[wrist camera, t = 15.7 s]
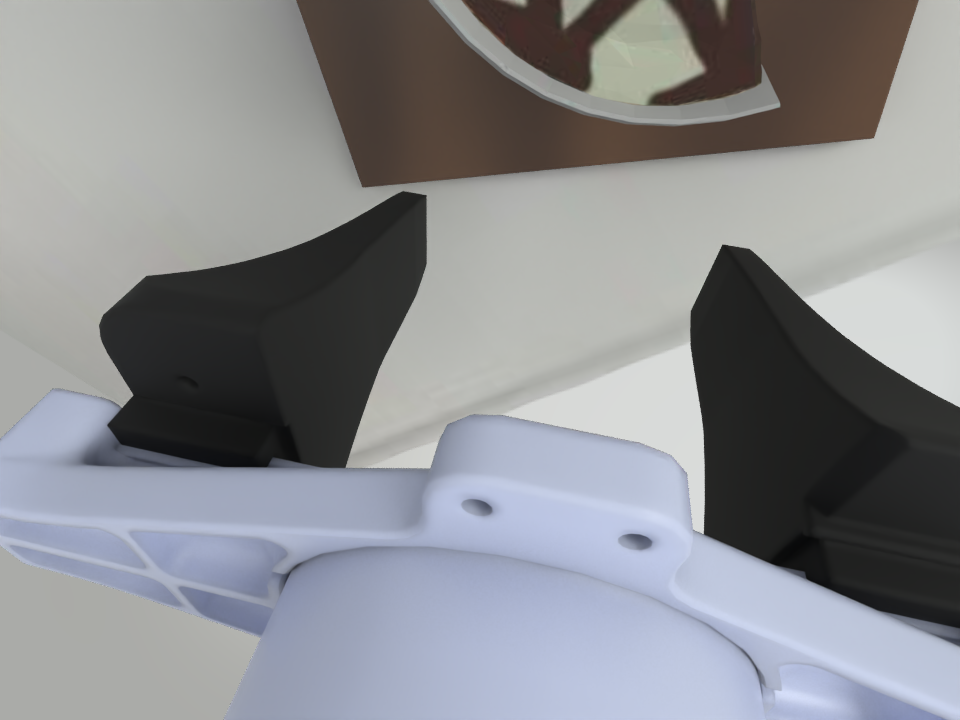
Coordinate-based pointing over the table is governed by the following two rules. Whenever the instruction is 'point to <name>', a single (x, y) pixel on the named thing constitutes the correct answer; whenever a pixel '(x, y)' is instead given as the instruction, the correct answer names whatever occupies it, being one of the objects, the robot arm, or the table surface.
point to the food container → (625, 55)
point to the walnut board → (563, 132)
